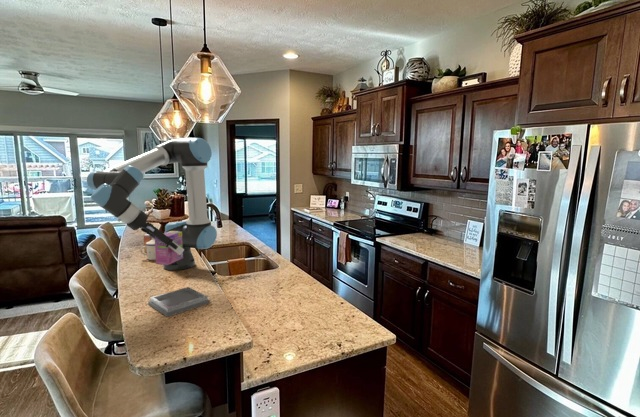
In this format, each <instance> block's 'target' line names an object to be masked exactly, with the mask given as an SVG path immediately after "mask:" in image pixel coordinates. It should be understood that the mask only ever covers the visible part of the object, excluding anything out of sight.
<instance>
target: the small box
mask: <svg viewBox="0 0 640 417" xmlns="http://www.w3.org/2000/svg"><path fill="white" fill-rule="evenodd" d="M150 240H153V239H152V237H151V236H150V235H148V234H147V233H145V234H143V246H146V243H147V242H149V241H150ZM143 251H144V252H143V253H147V249H146V248H143Z"/></svg>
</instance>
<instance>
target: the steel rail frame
mask: <svg viewBox="0 0 640 417" xmlns="http://www.w3.org/2000/svg"><path fill="white" fill-rule="evenodd" d="M185 292H189V293H190V294H192V295H194V296H196V297H198V298H197V299H193V300H190V301H187V302H184V303H180V304H177V305H174V306H170V307H169V306H167V305H165V304H164V303H162V302H160V301H159V300H160V299H164V298H167V297H171V296H174V295H178V294H181V293H185ZM207 300H209V298H208V296H207V295H206V294H204V293H202V292H199V291H198V290H195V289H193V288H191V287H189V286H186V287H183V288H180V289H179V288H178V289H176V290H172V291H169V292H165V293H162V294H158V295H153V296H150V297H149V301H150V302H152V303H153V304H155V305H157V306H158V307H160V308H161V309H163V310H164V311H166V312H167V313H168V312H172V311H175V310H178V309H181V308H184V307H188V306H191V305H194V304H197V303H200V302H203V301H207Z"/></svg>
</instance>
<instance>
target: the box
mask: <svg viewBox="0 0 640 417" xmlns="http://www.w3.org/2000/svg"><path fill="white" fill-rule="evenodd" d="M162 233H163V232H162ZM163 234H165V235H166V236H167V237H169V238H170V239H172V240H173V241H174V242H175V243H176V244H178V245H179V246H180V247H182V248H183V245H182V232H181V231H169V232H166V233H165V232H164V233H163ZM155 252H156V260H155V263H156V265H162V266H163V265H169V264H171V263H174V262H176V261H178V260H180V259H182V258H183V252H182V254H181V255H179V254H178V253H176V252H175V251H174V250H172V249H171V248H170V247H166V244H165V243H163V242H162V241H161V240H159V239H158V238H156V237H155Z"/></svg>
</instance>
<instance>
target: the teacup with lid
mask: <svg viewBox="0 0 640 417" xmlns="http://www.w3.org/2000/svg"><path fill="white" fill-rule="evenodd" d="M152 239H153V238H152ZM144 248H146V249H147V252H146V253H145V252H143V251H142V249H144ZM139 251H140V253H141V255H143V256H146V259H147V260H149V261H156V252H155V239H153V240H150V241H149V242H147V243H146V246H144V245H143V246H141V247H140V250H139Z"/></svg>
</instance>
